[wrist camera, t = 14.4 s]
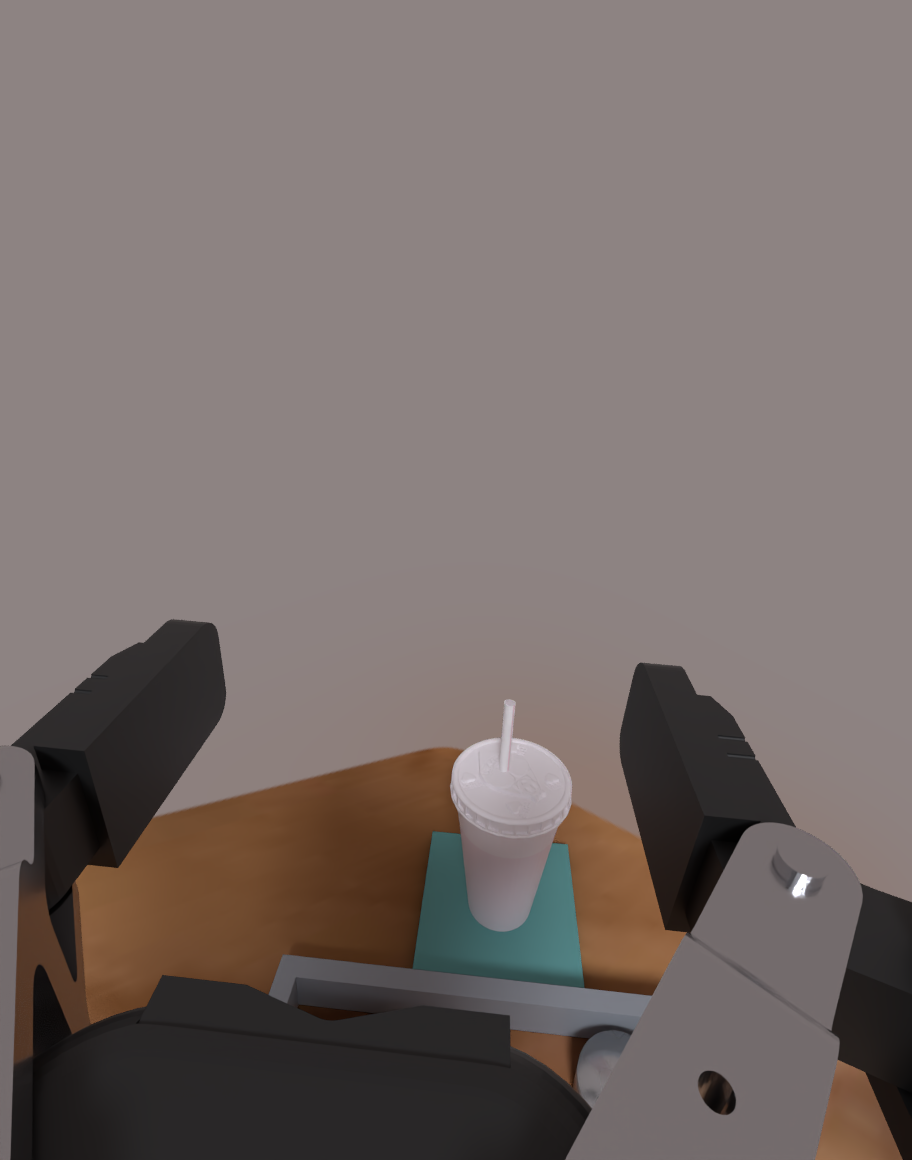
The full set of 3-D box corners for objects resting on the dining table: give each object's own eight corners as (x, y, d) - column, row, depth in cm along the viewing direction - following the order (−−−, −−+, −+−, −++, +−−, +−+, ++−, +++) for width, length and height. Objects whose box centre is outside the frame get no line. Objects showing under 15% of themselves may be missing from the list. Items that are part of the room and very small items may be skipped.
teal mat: (412, 975, 30) (412, 968, 30) (432, 837, 39) (432, 831, 38) (583, 995, 30) (584, 987, 30) (566, 851, 38) (567, 844, 38)
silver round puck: (577, 1160, 24) (584, 1136, 23) (567, 1050, 28) (572, 1025, 27) (674, 1171, 24) (684, 1146, 23) (650, 1059, 28) (658, 1034, 27)
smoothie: (496, 838, 38) (512, 658, 32) (576, 905, 34) (610, 712, 28) (423, 897, 34) (426, 703, 28) (502, 981, 30) (526, 774, 24)
